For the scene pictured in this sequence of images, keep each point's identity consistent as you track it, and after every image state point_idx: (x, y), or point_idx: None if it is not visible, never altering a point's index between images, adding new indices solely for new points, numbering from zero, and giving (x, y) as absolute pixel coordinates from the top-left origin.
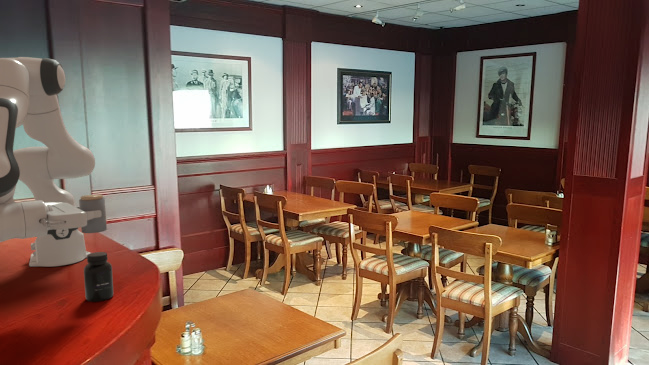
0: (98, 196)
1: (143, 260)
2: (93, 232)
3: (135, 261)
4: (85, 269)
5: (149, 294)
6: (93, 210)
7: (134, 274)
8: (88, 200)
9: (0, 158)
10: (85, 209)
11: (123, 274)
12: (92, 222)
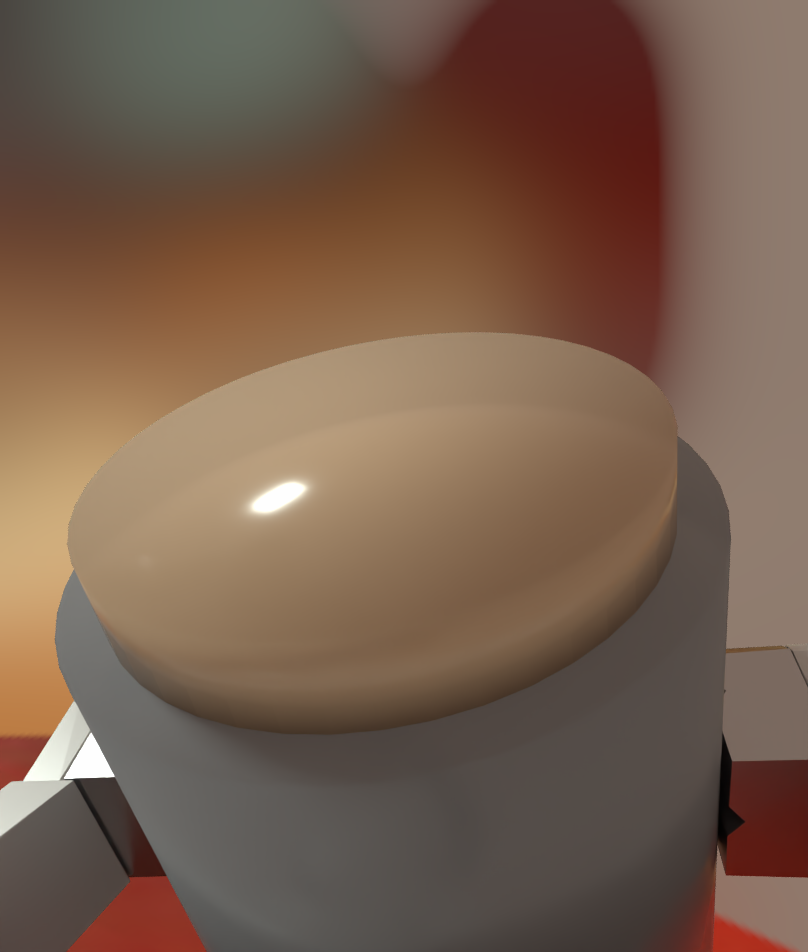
0: (622, 363)
1: (44, 742)
2: None
3: (9, 779)
4: None
5: (724, 940)
6: (788, 745)
7: None
8: (646, 589)
9: None
10: (657, 883)
11: (156, 923)
12: None
